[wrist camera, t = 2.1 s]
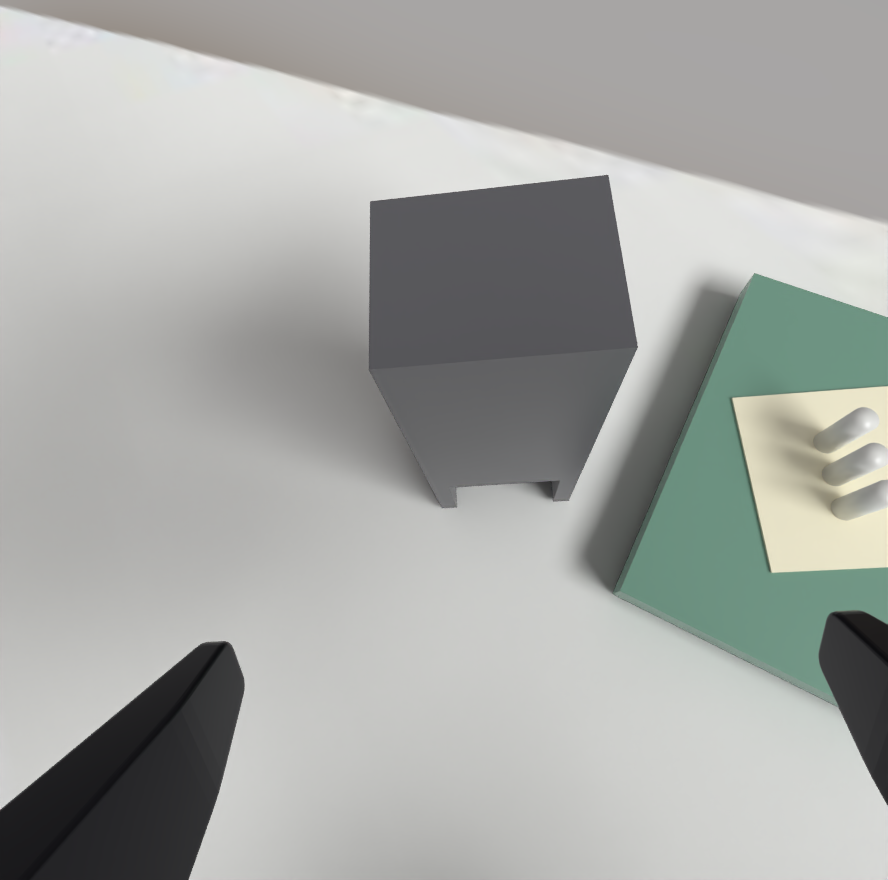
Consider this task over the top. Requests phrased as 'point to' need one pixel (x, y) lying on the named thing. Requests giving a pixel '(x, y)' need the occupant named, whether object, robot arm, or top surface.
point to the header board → (775, 486)
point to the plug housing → (500, 329)
